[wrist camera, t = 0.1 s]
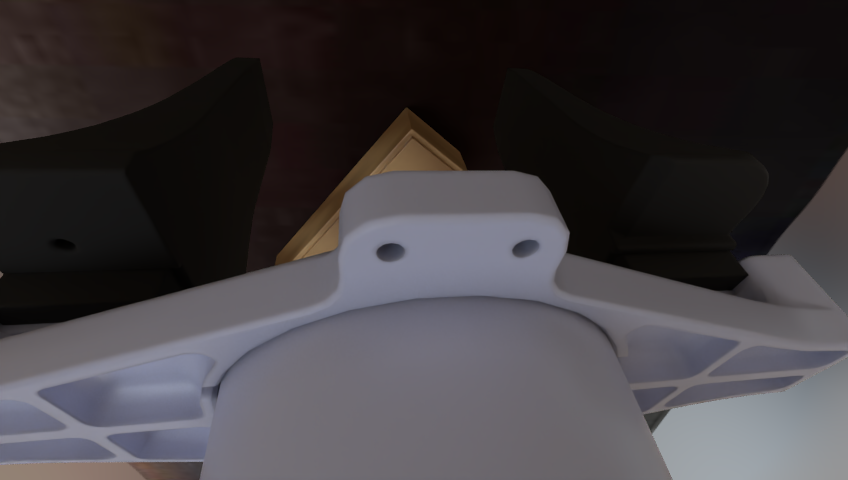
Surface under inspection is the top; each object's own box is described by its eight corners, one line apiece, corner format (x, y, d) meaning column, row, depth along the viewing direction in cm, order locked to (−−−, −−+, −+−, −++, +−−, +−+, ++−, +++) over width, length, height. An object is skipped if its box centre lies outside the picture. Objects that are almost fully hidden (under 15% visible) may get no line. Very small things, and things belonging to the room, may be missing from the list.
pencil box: (330, 281, 31) (328, 314, 29) (276, 255, 29) (269, 288, 26) (460, 152, 26) (471, 178, 23) (406, 106, 23) (412, 130, 21)
